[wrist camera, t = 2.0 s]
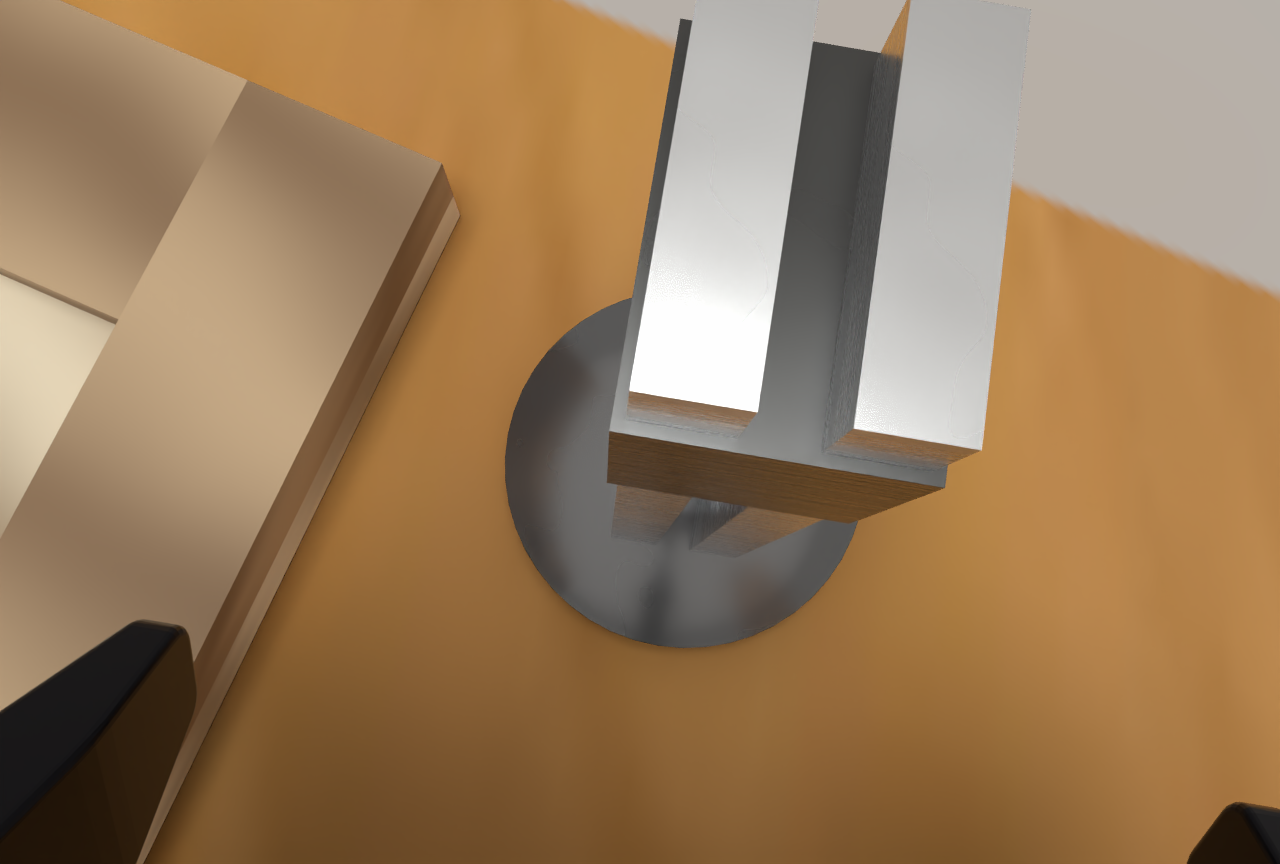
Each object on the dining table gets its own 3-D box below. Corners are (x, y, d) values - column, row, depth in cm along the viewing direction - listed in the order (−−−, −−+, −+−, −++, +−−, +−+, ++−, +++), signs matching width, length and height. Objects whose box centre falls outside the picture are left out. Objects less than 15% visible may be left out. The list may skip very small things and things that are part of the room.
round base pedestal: (822, 671, 20) (1299, 789, 6) (483, 615, 20) (228, 611, 6) (866, 342, 21) (1354, -163, 8) (544, 288, 21) (440, -321, 7)
